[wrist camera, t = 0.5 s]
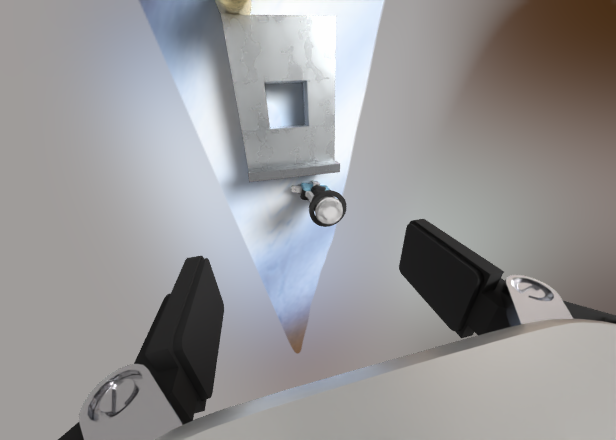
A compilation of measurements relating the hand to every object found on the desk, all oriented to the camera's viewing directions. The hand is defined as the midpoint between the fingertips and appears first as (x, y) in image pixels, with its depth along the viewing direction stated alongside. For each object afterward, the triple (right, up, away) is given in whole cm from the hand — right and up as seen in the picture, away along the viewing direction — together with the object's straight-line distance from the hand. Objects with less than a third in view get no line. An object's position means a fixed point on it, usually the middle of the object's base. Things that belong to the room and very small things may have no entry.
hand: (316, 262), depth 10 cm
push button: (0, +8, +28) cm, 29 cm away
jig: (-4, +19, +21) cm, 28 cm away
